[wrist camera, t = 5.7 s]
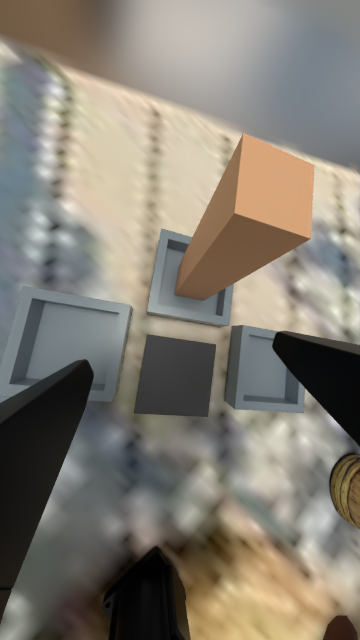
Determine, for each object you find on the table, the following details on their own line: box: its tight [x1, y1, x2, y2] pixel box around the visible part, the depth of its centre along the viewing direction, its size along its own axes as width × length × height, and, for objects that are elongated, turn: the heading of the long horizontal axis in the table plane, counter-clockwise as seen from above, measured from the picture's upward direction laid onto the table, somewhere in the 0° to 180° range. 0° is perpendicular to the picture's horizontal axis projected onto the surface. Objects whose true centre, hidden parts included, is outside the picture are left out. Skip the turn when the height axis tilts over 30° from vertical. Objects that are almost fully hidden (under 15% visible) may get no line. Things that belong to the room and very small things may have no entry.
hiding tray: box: [147, 229, 234, 327], centre depth 20 cm, size 10×10×2 cm
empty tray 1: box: [0, 286, 132, 402], centre depth 17 cm, size 10×10×2 cm
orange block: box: [174, 133, 314, 301], centre depth 14 cm, size 4×4×14 cm
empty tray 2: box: [225, 325, 305, 413], centre depth 21 cm, size 10×10×2 cm
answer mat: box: [134, 335, 216, 417], centre depth 20 cm, size 9×9×1 cm
